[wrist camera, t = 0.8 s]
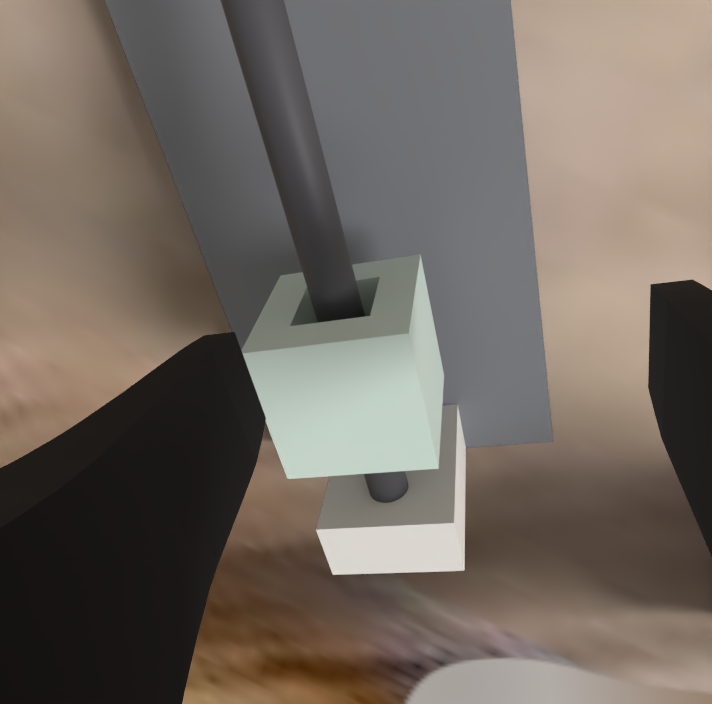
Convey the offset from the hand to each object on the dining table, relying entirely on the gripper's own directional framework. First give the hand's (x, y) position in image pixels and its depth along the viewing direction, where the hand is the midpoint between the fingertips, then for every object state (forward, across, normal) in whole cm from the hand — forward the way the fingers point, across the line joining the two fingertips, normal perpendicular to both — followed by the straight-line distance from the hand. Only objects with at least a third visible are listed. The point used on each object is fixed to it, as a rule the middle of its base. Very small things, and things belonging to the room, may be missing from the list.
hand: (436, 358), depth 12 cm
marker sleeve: (+7, +3, +3) cm, 8 cm away
